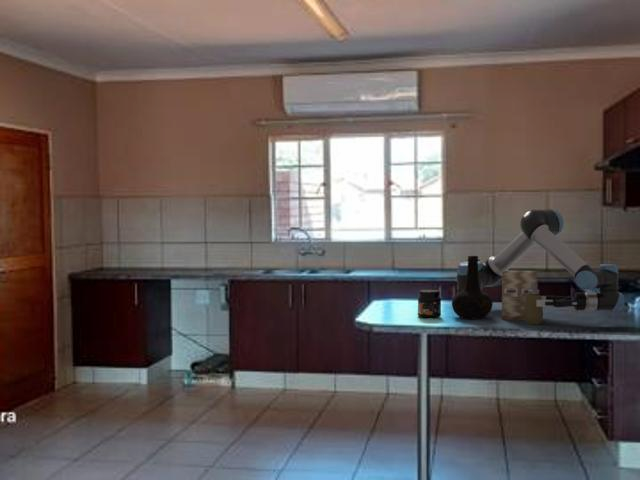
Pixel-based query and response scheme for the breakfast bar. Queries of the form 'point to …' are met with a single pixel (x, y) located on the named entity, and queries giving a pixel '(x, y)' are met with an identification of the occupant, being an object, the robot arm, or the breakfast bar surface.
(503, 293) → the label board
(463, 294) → the glass bottle
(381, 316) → the breakfast bar surface
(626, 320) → the breakfast bar surface
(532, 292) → the squeeze bottle
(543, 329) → the breakfast bar surface
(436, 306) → the supplement container
